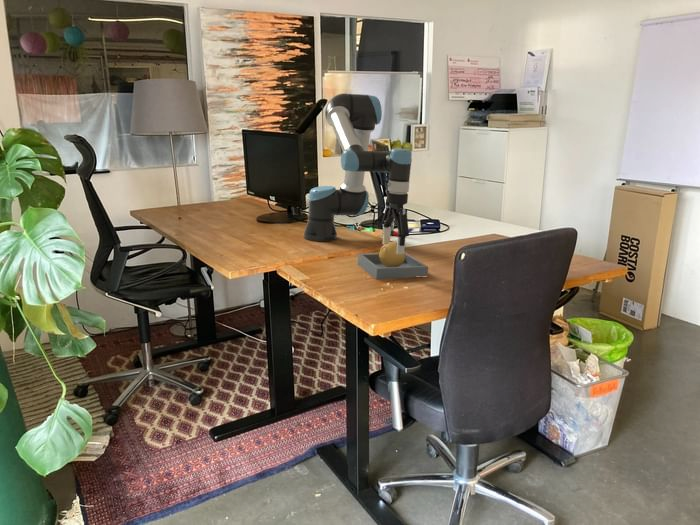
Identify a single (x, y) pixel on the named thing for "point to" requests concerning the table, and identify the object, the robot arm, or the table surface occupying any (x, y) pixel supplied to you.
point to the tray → (379, 271)
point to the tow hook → (393, 233)
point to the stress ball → (391, 255)
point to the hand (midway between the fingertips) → (392, 249)
